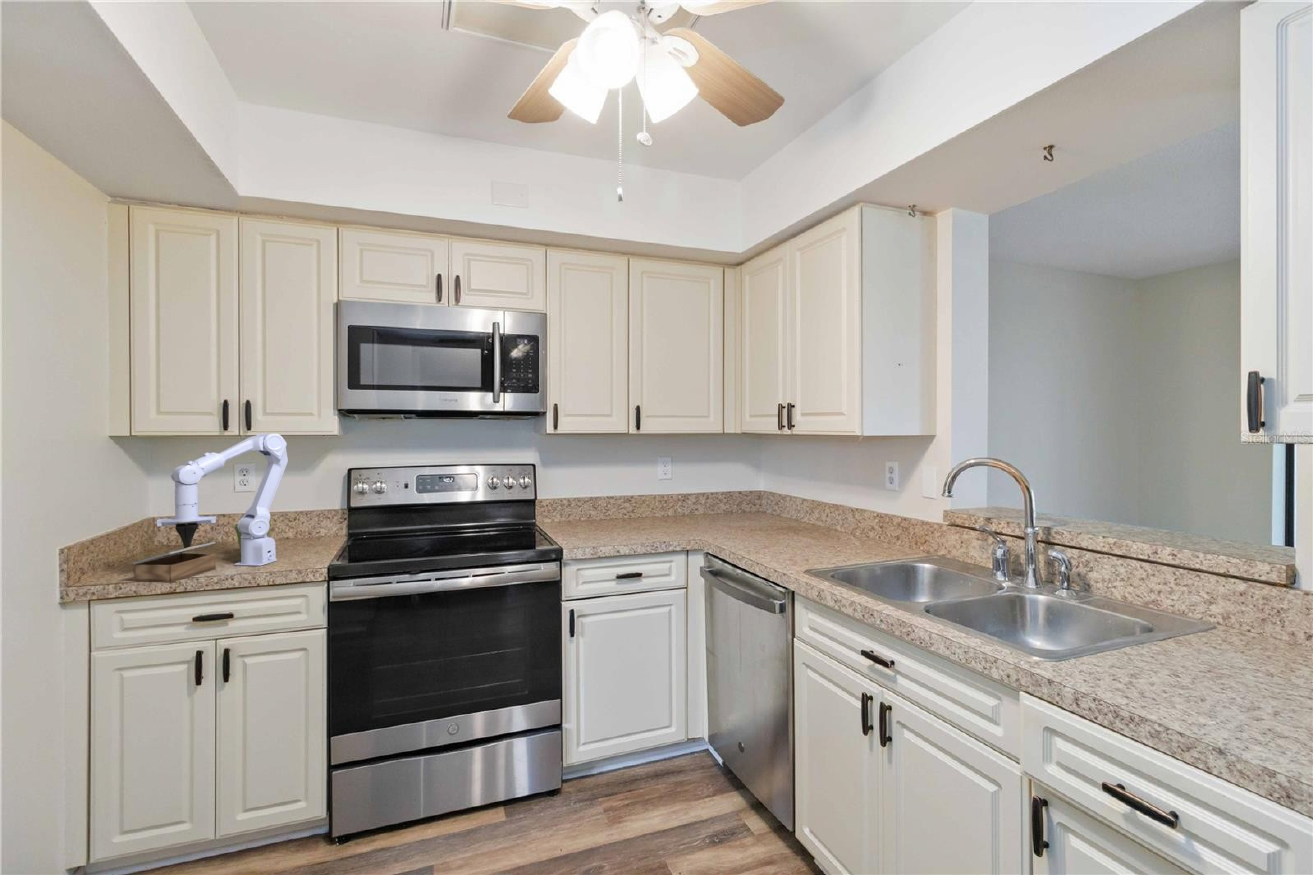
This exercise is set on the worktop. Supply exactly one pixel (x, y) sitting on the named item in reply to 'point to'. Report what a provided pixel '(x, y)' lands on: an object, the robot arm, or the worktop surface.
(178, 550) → the lid
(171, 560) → the box base
